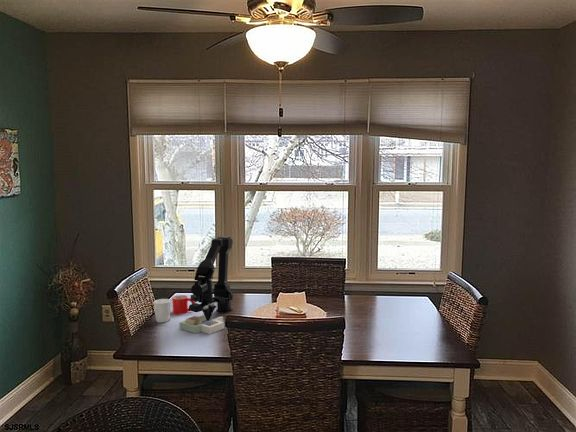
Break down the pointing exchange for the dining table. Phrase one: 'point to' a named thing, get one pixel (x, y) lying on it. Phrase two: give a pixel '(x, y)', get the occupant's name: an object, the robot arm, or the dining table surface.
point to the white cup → (162, 310)
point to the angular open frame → (203, 325)
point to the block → (193, 320)
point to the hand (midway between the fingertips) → (208, 320)
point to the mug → (181, 304)
